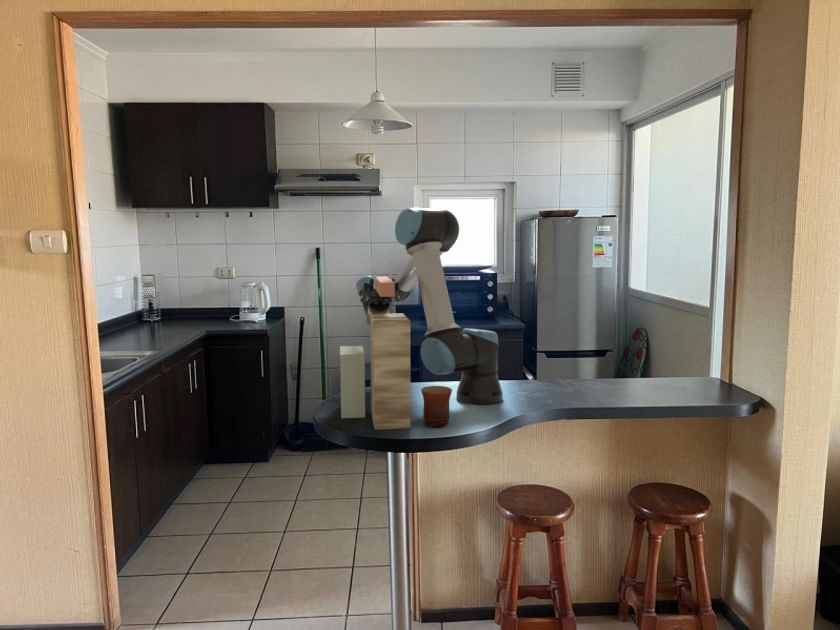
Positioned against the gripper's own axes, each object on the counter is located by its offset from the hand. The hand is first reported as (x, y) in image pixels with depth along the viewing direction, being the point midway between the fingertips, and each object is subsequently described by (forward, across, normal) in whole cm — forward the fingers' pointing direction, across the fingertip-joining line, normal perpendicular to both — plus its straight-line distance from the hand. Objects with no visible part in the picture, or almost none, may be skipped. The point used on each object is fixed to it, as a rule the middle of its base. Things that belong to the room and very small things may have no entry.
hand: (382, 276), depth 188 cm
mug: (0, -13, -47) cm, 49 cm away
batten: (+1, 0, -6) cm, 6 cm away
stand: (-4, 0, -44) cm, 45 cm away
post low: (-13, +10, -40) cm, 43 cm away
